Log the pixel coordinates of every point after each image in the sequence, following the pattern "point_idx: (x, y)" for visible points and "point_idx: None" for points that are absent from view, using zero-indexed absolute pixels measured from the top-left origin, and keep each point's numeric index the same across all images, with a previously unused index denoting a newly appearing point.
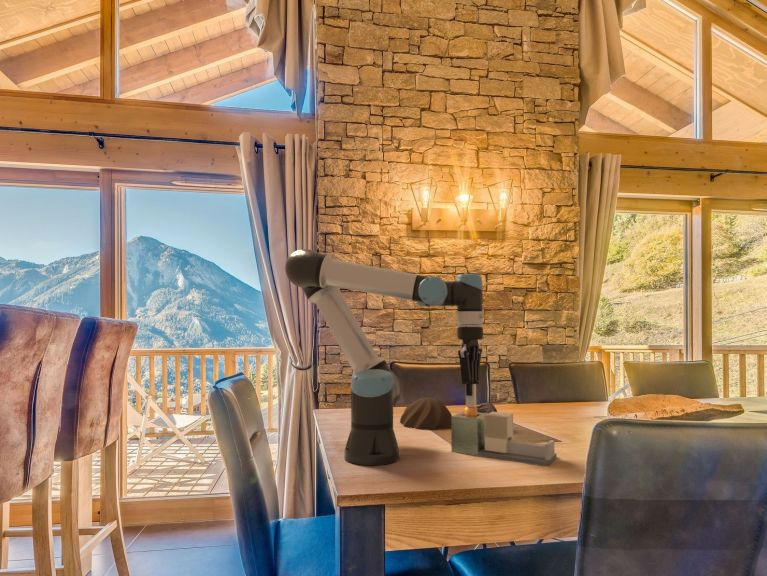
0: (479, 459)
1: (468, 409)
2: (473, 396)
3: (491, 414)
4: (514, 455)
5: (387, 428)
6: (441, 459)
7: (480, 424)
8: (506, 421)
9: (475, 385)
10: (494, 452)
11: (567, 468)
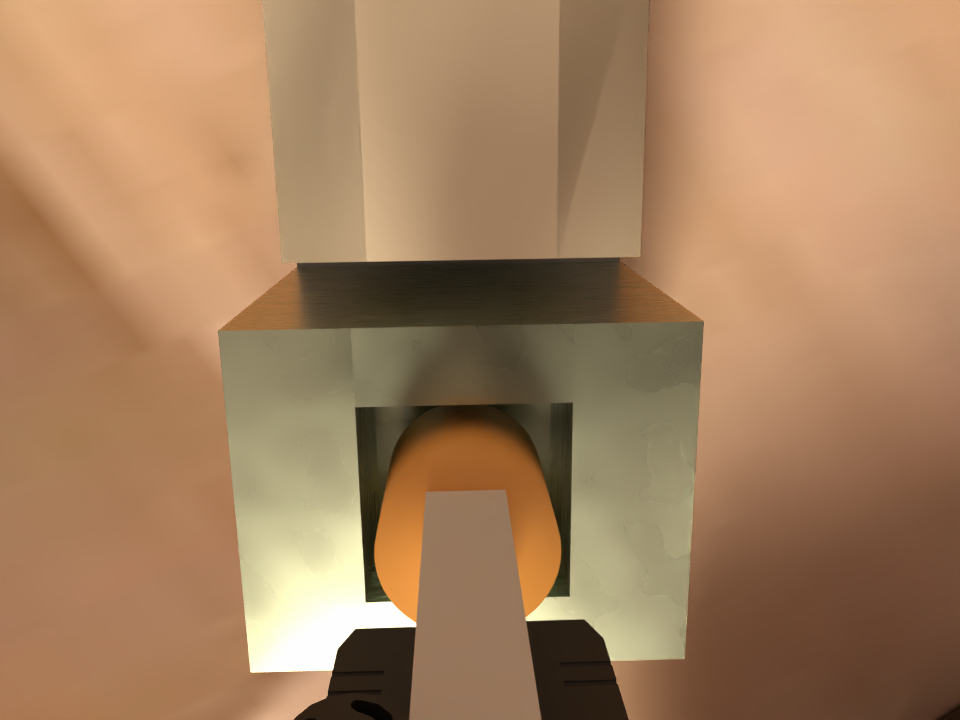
0: (719, 197)
1: (557, 542)
2: (520, 588)
3: (526, 191)
4: None
5: None
6: (863, 448)
7: (581, 305)
8: None
9: (446, 714)
10: None
11: None
